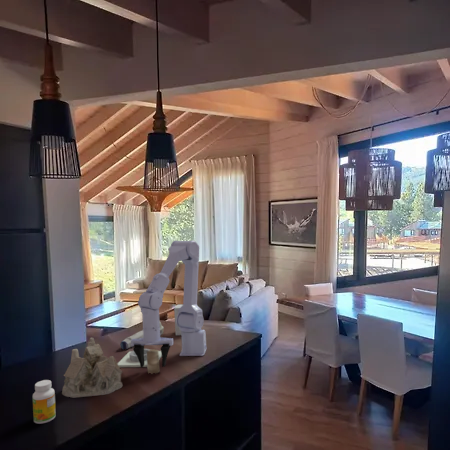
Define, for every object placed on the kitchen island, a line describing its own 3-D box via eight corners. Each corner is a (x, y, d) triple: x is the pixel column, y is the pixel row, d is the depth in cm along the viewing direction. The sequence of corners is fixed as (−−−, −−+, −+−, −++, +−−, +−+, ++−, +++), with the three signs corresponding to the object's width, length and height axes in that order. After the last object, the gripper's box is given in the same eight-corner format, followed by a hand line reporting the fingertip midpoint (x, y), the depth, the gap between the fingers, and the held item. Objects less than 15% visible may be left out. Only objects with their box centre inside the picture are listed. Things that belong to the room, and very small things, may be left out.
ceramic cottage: (56, 390, 118) (57, 343, 118) (104, 375, 130) (105, 332, 130) (78, 408, 108) (79, 357, 107) (128, 390, 119) (129, 343, 119)
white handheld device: (118, 340, 155) (155, 317, 177) (120, 355, 156) (157, 330, 178) (127, 341, 152) (164, 317, 174) (130, 357, 153) (166, 331, 175)
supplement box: (193, 330, 177) (192, 303, 177) (191, 335, 169) (189, 307, 169) (178, 330, 178) (177, 304, 177) (175, 335, 170) (173, 307, 170)
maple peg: (160, 369, 132) (159, 349, 132) (157, 373, 128) (156, 353, 128) (149, 369, 132) (148, 349, 132) (146, 373, 128) (145, 353, 128)
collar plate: (163, 352, 148) (163, 345, 148) (154, 366, 134) (153, 359, 134) (129, 353, 149) (129, 346, 149) (116, 367, 135) (115, 359, 135)
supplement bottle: (29, 422, 99) (27, 386, 99) (45, 412, 104) (43, 377, 104) (44, 425, 98) (42, 388, 97) (60, 415, 103) (58, 379, 102)
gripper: (126, 330, 126) (128, 370, 127) (169, 329, 125) (171, 370, 125) (133, 324, 133) (135, 362, 134) (174, 323, 132) (175, 362, 132)
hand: (153, 365), depth 130 cm, fingers open, 7 cm apart
